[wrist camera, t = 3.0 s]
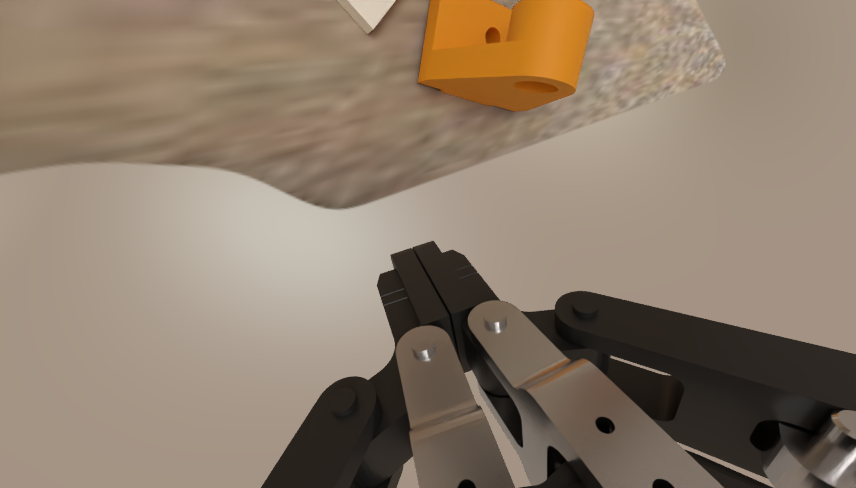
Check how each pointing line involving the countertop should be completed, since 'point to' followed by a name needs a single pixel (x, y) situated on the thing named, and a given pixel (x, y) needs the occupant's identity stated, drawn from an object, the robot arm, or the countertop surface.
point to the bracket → (505, 50)
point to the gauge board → (366, 11)
